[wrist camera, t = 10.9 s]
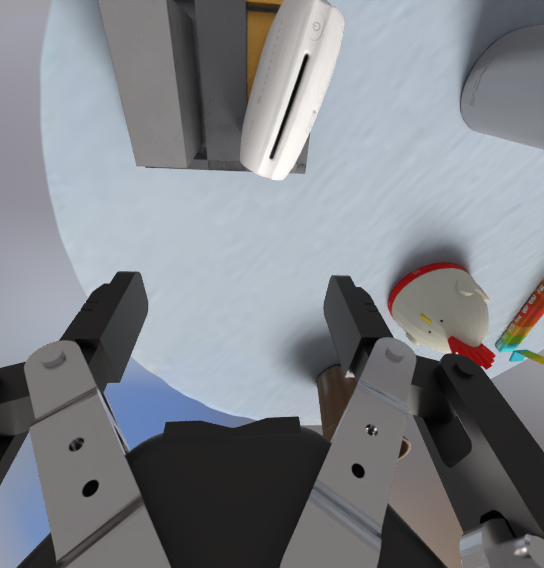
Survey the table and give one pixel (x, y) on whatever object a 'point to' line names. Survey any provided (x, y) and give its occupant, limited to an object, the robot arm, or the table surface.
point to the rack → (188, 77)
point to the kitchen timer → (443, 311)
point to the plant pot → (339, 402)
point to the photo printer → (290, 85)
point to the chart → (523, 327)
